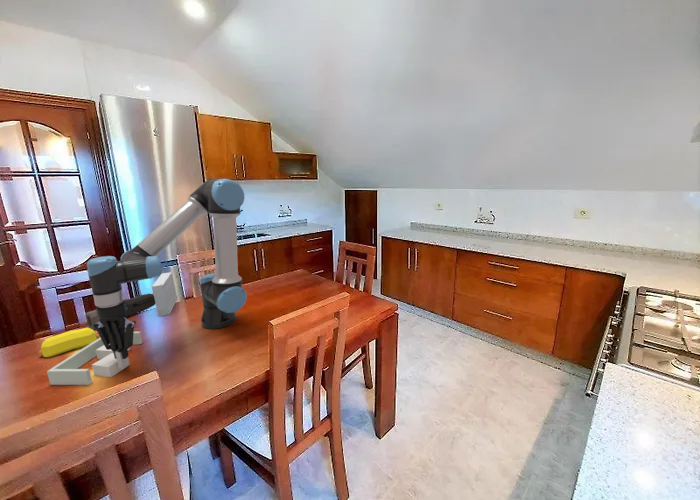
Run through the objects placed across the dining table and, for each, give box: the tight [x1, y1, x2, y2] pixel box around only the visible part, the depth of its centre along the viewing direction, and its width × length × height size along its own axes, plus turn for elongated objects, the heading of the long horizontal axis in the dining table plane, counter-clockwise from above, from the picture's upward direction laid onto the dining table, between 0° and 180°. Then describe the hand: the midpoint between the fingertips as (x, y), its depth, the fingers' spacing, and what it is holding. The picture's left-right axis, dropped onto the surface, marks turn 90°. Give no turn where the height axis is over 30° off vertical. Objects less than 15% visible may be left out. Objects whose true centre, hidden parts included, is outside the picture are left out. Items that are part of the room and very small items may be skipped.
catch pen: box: [46, 331, 143, 386], centre depth 109 cm, size 13×25×5 cm, turn 179°
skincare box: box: [151, 272, 178, 317], centre depth 153 cm, size 21×6×16 cm, turn 20°
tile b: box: [91, 353, 131, 378], centre depth 104 cm, size 7×7×4 cm
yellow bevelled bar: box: [37, 326, 100, 358], centre depth 117 cm, size 18×7×8 cm
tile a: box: [96, 344, 131, 360], centre depth 113 cm, size 7×7×4 cm
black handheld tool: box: [85, 293, 156, 331], centre depth 144 cm, size 11×7×30 cm
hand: (123, 366), depth 104 cm, fingers closed
